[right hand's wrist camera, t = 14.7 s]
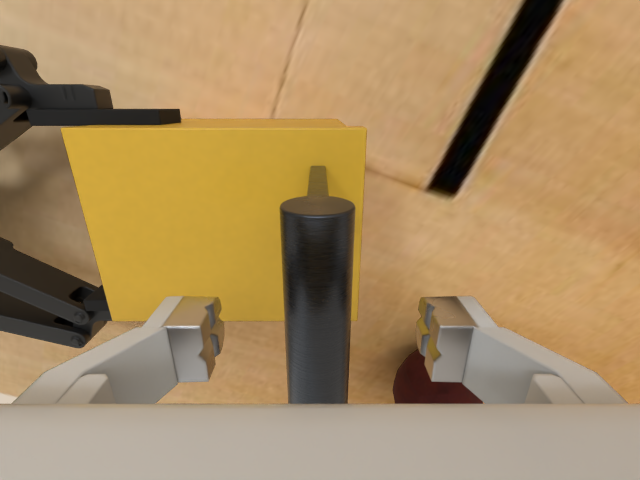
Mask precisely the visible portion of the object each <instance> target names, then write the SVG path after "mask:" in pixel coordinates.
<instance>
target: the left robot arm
mask: <svg viewBox="0 0 640 480" xmlns="http://www.w3.org/2000/svg"><path fill="white" fill-rule="evenodd" d="M36 69H37V61H36V59H35V57H34V56H33V55H32V54H31V53H30V52H29V51H27V50H24V49H19V48H13V47H8V46H3V45H0V150H2V149H3V148H4V147H6V146H7V145H8V144H10V143H11V142H12V141H14V140H15V139H16V138H17V137H19V136H20V135H21V134H23V133H24V132H25V131H27V130H28V129H29V128H31V127H32V126H87V125H166V124H174V123H181V116H180V109H113V105H112V100H111V95H110V91H109V90H108V89H106V88H103V87H101V86H94V85H83V84H71V85H70V84H63V85H62V84H47V83H46V82H44V81H43V80H42V79H41V77H40V76H39V75H38V73H37V71H36ZM107 321H112V318H111V314H110V310H109V307H108V303H107V299H106V295H105V292H104V288H103V284H102V285H101V286H100V287H99V288H98V287H96V286H94V285H92V284H89V283H87V282H85V281H83V280H81V279H78V278H76V277H74V276H72V275H70V274H67V273H65V272H63V271H61V270H59V269H56V268H54V267H52V266H50V265H48V264H45V263H43V262H41V261H39V260H37V259H34V258H32V257H30V256H28V255H26V254H23V253H21V252H19V251H17V250H15V249H13V244H12V243H11V242H10V241H8V240H5V239H3V238H1V237H0V331H4V332H9V333H13V334H17V335H22V336H26V337H31V338H35V339H39V340H44V341H48V342H53V343H57V344H61V345H66V346H70V347H74V348H82V347H84V346H85V345H86V344H87V343H88V342H89V341H90V340H91V339H92V338H93V337H94V336H95V335H96V334H97V333H98V332H99V331H100V329H101V328H102V327H103V326H104V325H105V324H106V323H107Z"/></svg>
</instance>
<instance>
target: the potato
mask: <svg viewBox="0 0 640 480" xmlns="http://www.w3.org/2000/svg"><path fill="white" fill-rule="evenodd" d="M393 394H394V399H395V404H483V401H482V400H480V399H479V398H478V397H477V396H476V395H475V394H473V393H472V392H471V391H470V390H469V389H468V388H467V387H465V386H464V385H463V384H462V382H432V381H431V379H430V376H429V374H428V372H427V369H426V367H425V357H424V356H423V355H422V354H420V352H419V349H418V350H416V351H415V352H413V353H412V354H410V355H409V356H408V357H407V359H406V360H405V361H404V362H403V363H402V365H401V366H400V368H399V369H398V371H397V374H396V377H395V381H394V385H393Z"/></svg>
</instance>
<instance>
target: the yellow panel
mask: <svg viewBox="0 0 640 480" xmlns="http://www.w3.org/2000/svg"><path fill="white" fill-rule="evenodd" d="M61 132H62V136H63V140H64V144H65V147H66V151H67V155H68V158H69V162H70V166H71V170H72V173H73V177H74V181H75V184H76V188H77V192H78V195H79V199H80V203H81V207H82V210H83V214H84V218H85V221H86V225H87V229H88V232H89V236H90V240H91V244H92V247H93V251H94V255H95V258H96V262H97V266H98V269H99V273H100V277H101V281H102V284H103V288H104V292H105V295H106V299H107V303H108V307H109V310H110V314H111V318H112V321H147V320H148V319H149V317H150V316H151V315H152V314H153V312H154V311H155V310H156V309H157V307H158V306H159V305H160V304H161V303H162V301H163V300H164V299H165V298H166V297H168V296H202V297H219V299H220V301H221V307H222V310H221V312H220V315H219V318H220V319H221V320H222V321H285V341H286V363H287V385H288V404H347V403H348V379H349V355H350V330H351V321H357V319H358V299H359V278H360V258H361V238H362V218H363V198H364V178H365V158H366V137H367V128H365V127H363V126H76V127H64V128H61Z"/></svg>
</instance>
